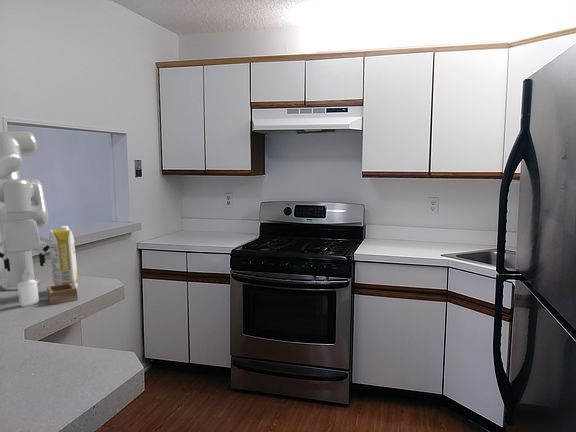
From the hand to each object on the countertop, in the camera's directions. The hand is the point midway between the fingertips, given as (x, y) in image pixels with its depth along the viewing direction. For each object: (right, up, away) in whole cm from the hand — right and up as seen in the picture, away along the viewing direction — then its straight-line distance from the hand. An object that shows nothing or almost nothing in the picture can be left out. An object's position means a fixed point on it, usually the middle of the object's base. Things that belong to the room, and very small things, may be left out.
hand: (25, 268), depth 153 cm
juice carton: (+5, -10, +18) cm, 21 cm away
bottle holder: (+9, -11, +7) cm, 16 cm away
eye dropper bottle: (0, -13, +2) cm, 13 cm away
